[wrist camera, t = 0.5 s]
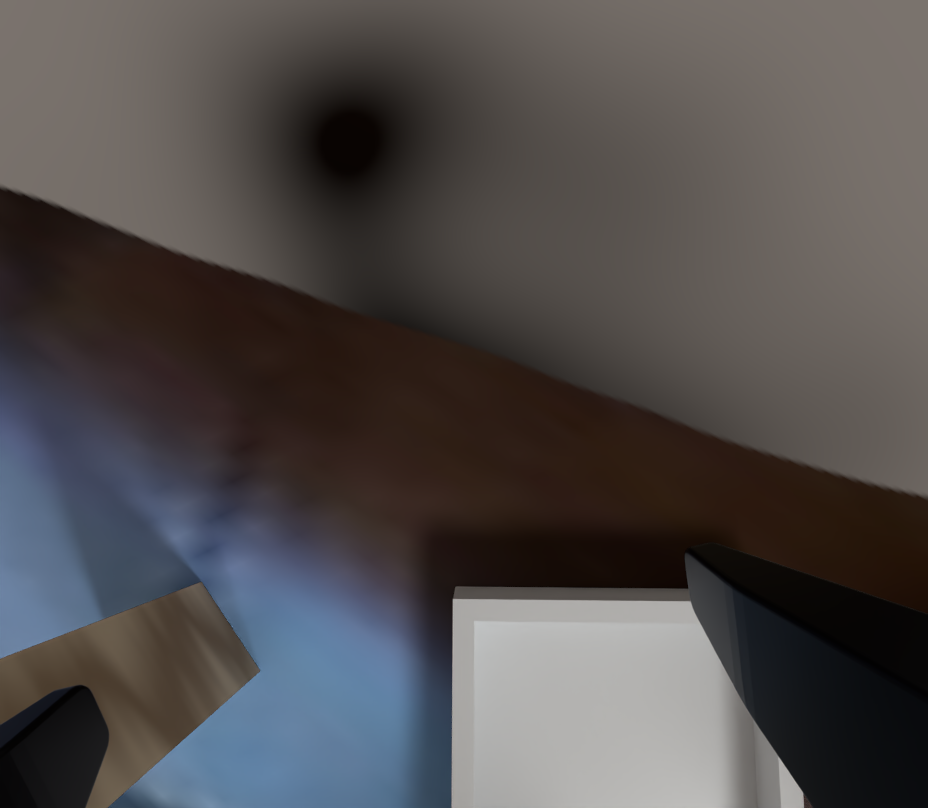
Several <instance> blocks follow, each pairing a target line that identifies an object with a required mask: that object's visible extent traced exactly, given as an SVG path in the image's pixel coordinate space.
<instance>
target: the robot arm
mask: <svg viewBox="0 0 928 808" xmlns="http://www.w3.org/2000/svg"><path fill="white" fill-rule="evenodd" d="M684 558H685V566H686V574H687V581H688V589H689V596H690V601H691V604H692V607H693V610H694V612H695V614H696V616H697V618H698V620H699V622H700V624H701V626H702V628H703V629H704V631H705V633H706V635H707V637H708V639H709V641H710V643H711V644H712V646H713V648H714V650H715V652H716V654H717V656H718V658H719V659H720V661H721V663H722V665H723V667H724V669H725V671H726V672H727V674H728V676H729V678H730V680H731V682H732V684H733V686H734V687H735V689H736V691H737V693H738V695H739V697H740V698H741V700H742V702H743V704H744V705H745V707H746V709H747V710H748V712H749V713H750V715H751V717H752V718H753V720H754V721H755V723H756V724H757V726H758V727H759V729H760V730H761V732H762V733H763V735H764V736H765V737H766V739H767V740H768V742H769V743H770V745H771V746H772V748H773V749H774V751H775V752H776V754H777V755H778V757H779V758H780V760H781V761H782V762H783V764H784V765H785V767H786V768H787V770H788V771H789V773H790V774H791V776H792V777H793V779H794V780H795V782H796V783H797V785H798V786H799V787H800V789H801V790H802V792H803V793H804V795H805V796H806V798H807V799H808V801H809V802H810V804H811V805H812V807H813V808H928V614H927V613H924V612H921V611H918V610H915V609H912V608H909V607H906V606H903V605H900V604H897V603H894V602H891V601H888V600H885V599H882V598H879V597H876V596H873V595H870V594H867V593H864V592H861V591H858V590H855V589H852V588H849V587H846V586H843V585H840V584H837V583H834V582H831V581H828V580H825V579H822V578H819V577H816V576H813V575H810V574H807V573H804V572H801V571H798V570H795V569H792V568H789V567H786V566H783V565H780V564H777V563H774V562H771V561H768V560H765V559H762V558H759V557H756V556H753V555H750V554H747V553H744V552H741V551H738V550H735V549H732V548H729V547H726V546H723V545H720V544H717V543H705V544H701V545H697V546H692V547H689V548H687V549H686V551H685V557H684ZM108 744H109V729H108V726H107V724H106V722H105V719H104V717H103V715H102V713H101V711H100V708H99V706H98V704H97V702H96V700H95V697H94V695H93V693H92V691H91V690H90V689H89V688H88V687H87V686H84V685H76V686H71V687H67V688H62V689H58V690H55V691H53V692H51V693H49V694H48V695H46V696H44V697H43V698H41V699H40V700H38V701H37V702H35V703H34V704H32V705H30V706H29V707H27V708H26V709H24V710H23V711H21V712H20V713H18V714H16V715H15V716H13V717H12V718H10V719H9V720H7V721H6V722H4V723H2V724H1V725H0V808H86V806H87V803H88V800H89V797H90V795H91V792H92V789H93V786H94V784H95V781H96V778H97V776H98V773H99V770H100V767H101V765H102V762H103V759H104V756H105V754H106V751H107V748H108Z"/></svg>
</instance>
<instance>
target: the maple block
mask: <svg viewBox="0 0 928 808" xmlns="http://www.w3.org/2000/svg"><path fill="white" fill-rule="evenodd" d="M259 672H260V670H259V668H258V667H257V665H256V664H255V662H254V661H253V659H252V658H251V656H250V655H249V653H248V652H247V650H246V649H245V647H244V646H243V644H242V643H241V641H240V639H239V638H238V636H237V635H236V633H235V632H234V630H233V629H232V627H231V626H230V624H229V623H228V621H227V620H226V618H225V617H224V615H223V614H222V612H221V611H220V609H219V608H218V606H217V605H216V603H215V602H214V600H213V599H212V597H211V596H210V594H209V593H208V591H207V590H206V588H205V586H204V585H203V583H202V582H199V583H197V584H194V585H192V586H189V587H186V588H184V589H181V590H179V591H176V592H173V593H171V594H168V595H165V596H163V597H160V598H158V599H155V600H152V601H150V602H147V603H145V604H142V605H139V606H137V607H134V608H132V609H129V610H126V611H124V612H121V613H118V614H116V615H113V616H111V617H108V618H105V619H103V620H100V621H98V622H95V623H92V624H90V625H87V626H85V627H82V628H79V629H77V630H74V631H71V632H69V633H66V634H64V635H61V636H58V637H56V638H53V639H51V640H48V641H45V642H43V643H40V644H38V645H35V646H32V647H30V648H27V649H24V650H22V651H19V652H17V653H14V654H11V655H9V656H6V657H4V658H1V659H0V725H1V724H2V723H4V722H6V721H7V720H9V719H10V718H12V717H13V716H15V715H16V714H18V713H20V712H21V711H23V710H24V709H26V708H27V707H29V706H30V705H32V704H34V703H35V702H37V701H38V700H40V699H41V698H43V697H44V696H46V695H48V694H49V693H51V692H53V691H55V690H58V689H62V688H67V687H71V686H76V685H84V686H87V687H88V688H89V689H90V690H91V691H92V693H93V695H94V697H95V700H96V702H97V704H98V706H99V708H100V711H101V713H102V715H103V717H104V719H105V722H106V724H107V726H108V729H109V744H108V748H107V751H106V754H105V756H104V759H103V762H102V765H101V767H100V770H99V773H98V776H97V778H96V781H95V784H94V786H93V789H92V792H91V795H90V797H89V800H88V803H87V806H86V808H107V807H109V806H110V805H111V804H112V803H113V802H114V801H115V800H116V799H118V798H119V797H120V796H121V795H122V794H123V793H124V792H125V791H126V790H128V789H129V788H130V787H131V786H132V785H133V784H134V783H135V782H137V781H138V780H139V779H140V778H141V777H142V776H143V775H144V774H146V773H147V772H148V771H149V770H150V769H151V768H152V767H153V766H154V765H156V764H157V763H158V762H159V761H160V760H161V759H162V758H163V757H165V756H166V755H167V754H168V753H169V752H170V751H171V750H172V749H174V748H175V747H176V746H177V745H178V744H179V743H180V742H181V741H182V740H184V739H185V738H186V737H187V736H188V735H189V734H190V733H191V732H193V731H194V730H195V729H196V728H197V727H198V726H199V725H200V724H202V723H203V722H204V721H205V720H206V719H207V718H208V717H209V716H210V715H212V714H213V713H214V712H215V711H216V710H217V709H218V708H219V707H221V706H222V705H223V704H224V703H225V702H226V701H227V700H228V699H229V698H231V697H232V696H233V695H234V694H235V693H236V692H237V691H238V690H240V689H241V688H242V687H243V686H244V685H245V684H246V683H247V682H249V681H250V680H251V679H252V678H253V677H254V676H255V675H256V674H257V673H259Z"/></svg>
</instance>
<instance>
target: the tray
mask: <svg viewBox="0 0 928 808" xmlns="http://www.w3.org/2000/svg"><path fill="white" fill-rule="evenodd" d="M452 808H804V800H803V792H802V790H801V789H800V787H799V786H798V785H797V783H796V782H795V780H794V779H793V777H792V776H791V774H790V773H789V771H788V770H787V768H786V767H785V765H784V764H783V762H782V761H781V760H780V758H779V757H778V755H777V754H776V752H775V751H774V749H773V748H772V746H771V745H770V743H769V742H768V740H767V739H766V737H765V736H764V735H763V733H762V732H761V730H760V729H759V727H758V726H757V724H756V723H755V721H754V720H753V718H752V717H751V715H750V713H749V712H748V710H747V709H746V707H745V705H744V704H743V702H742V700H741V698H740V697H739V695H738V693H737V691H736V689H735V687H734V686H733V684H732V682H731V680H730V678H729V676H728V674H727V672H726V671H725V669H724V667H723V665H722V663H721V661H720V659H719V658H718V656H717V654H716V652H715V650H714V648H713V646H712V644H711V643H710V641H709V639H708V637H707V635H706V633H705V631H704V629H703V628H702V626H701V624H700V622H699V620H698V618H697V616H696V614H695V612H694V610H693V607H692V604H691V601H690V596H689V589H669V588H564V587H459V586H456V587H455V592H454V596H453V661H452Z"/></svg>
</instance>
